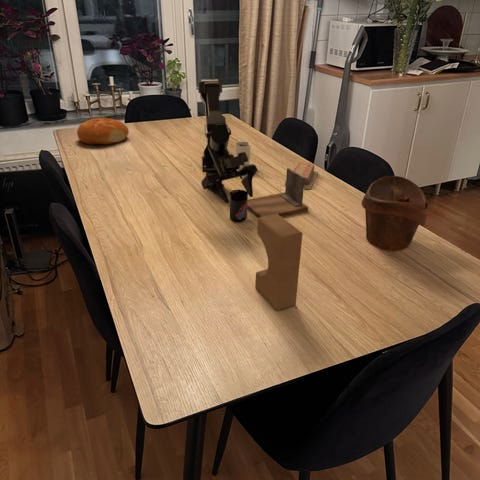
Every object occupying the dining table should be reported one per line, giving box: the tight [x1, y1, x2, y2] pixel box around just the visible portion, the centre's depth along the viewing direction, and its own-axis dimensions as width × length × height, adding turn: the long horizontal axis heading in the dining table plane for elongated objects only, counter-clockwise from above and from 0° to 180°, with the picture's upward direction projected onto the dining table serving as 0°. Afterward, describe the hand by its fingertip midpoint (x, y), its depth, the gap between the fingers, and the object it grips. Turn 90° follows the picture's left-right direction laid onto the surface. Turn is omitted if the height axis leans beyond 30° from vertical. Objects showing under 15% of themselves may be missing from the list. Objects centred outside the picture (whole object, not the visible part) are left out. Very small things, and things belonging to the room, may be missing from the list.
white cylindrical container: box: [234, 141, 252, 171], centre depth 189 cm, size 7×7×10 cm
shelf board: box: [247, 167, 309, 219], centre depth 154 cm, size 14×18×12 cm
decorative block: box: [254, 214, 303, 311], centre depth 108 cm, size 11×6×20 cm, turn 26°
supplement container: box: [229, 189, 249, 223], centre depth 147 cm, size 6×6×9 cm
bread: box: [76, 117, 130, 146], centre depth 218 cm, size 23×23×10 cm
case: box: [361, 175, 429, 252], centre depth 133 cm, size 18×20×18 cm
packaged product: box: [284, 161, 319, 190], centre depth 179 cm, size 18×5×10 cm
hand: (240, 199), depth 145 cm, fingers open, 9 cm apart
